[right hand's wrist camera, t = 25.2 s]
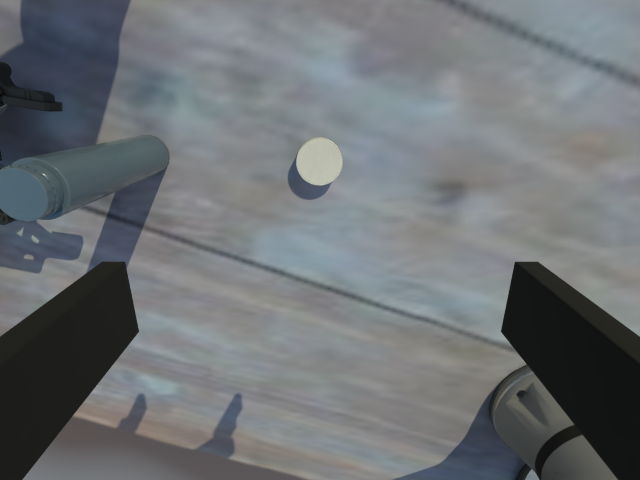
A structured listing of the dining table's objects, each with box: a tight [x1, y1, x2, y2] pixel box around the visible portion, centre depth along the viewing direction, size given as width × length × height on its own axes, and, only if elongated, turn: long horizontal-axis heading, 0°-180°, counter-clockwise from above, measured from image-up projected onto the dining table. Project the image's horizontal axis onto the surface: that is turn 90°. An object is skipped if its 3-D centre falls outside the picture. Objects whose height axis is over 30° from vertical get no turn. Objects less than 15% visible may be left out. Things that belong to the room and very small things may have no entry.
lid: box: [296, 137, 342, 185], centre depth 40 cm, size 5×5×2 cm
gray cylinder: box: [0, 135, 169, 222], centre depth 32 cm, size 4×4×19 cm
